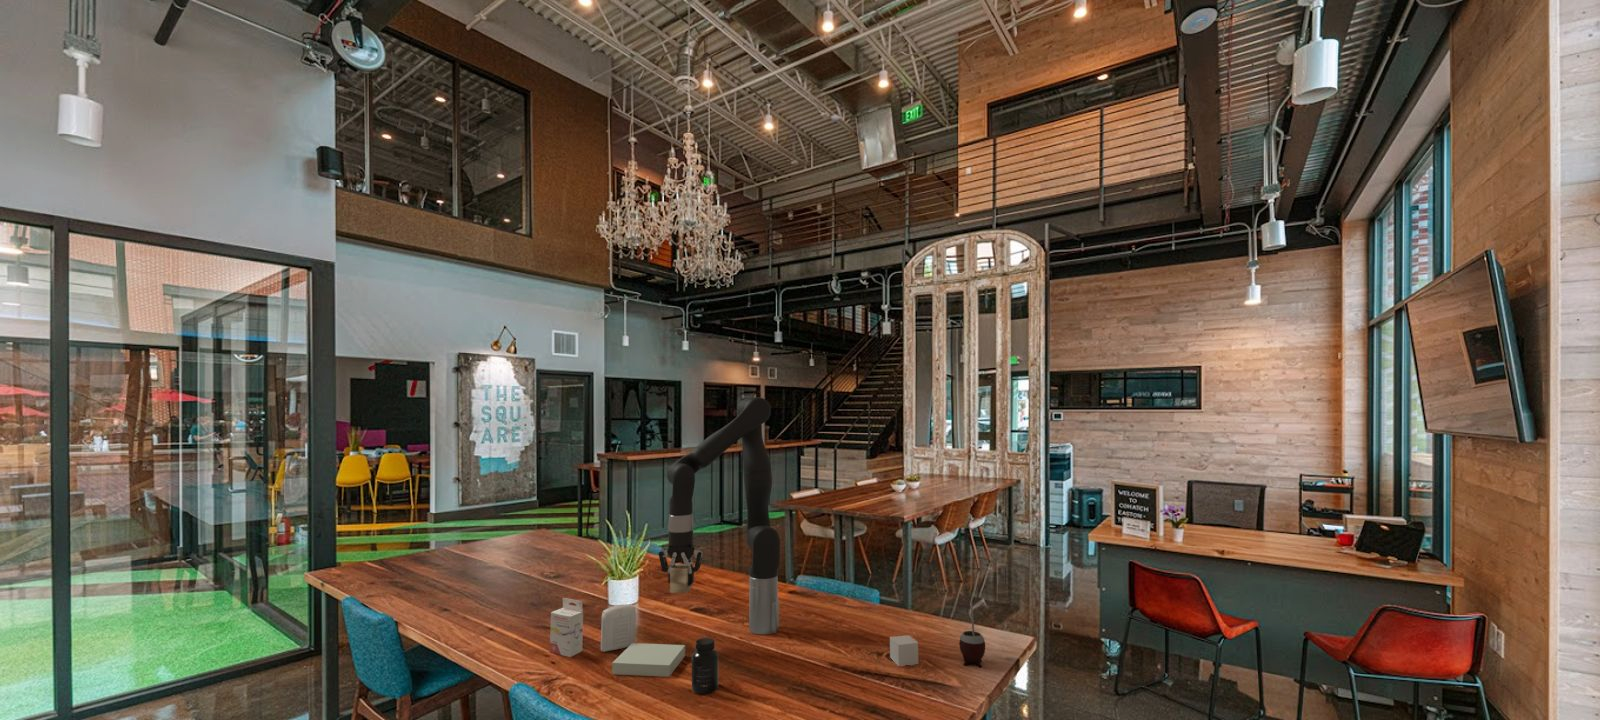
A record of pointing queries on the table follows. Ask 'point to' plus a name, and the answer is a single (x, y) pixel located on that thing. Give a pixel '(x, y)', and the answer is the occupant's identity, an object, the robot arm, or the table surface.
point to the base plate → (649, 660)
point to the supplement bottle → (705, 667)
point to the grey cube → (904, 650)
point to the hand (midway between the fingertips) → (681, 584)
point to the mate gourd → (972, 645)
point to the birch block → (679, 579)
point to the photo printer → (618, 627)
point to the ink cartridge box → (567, 629)
